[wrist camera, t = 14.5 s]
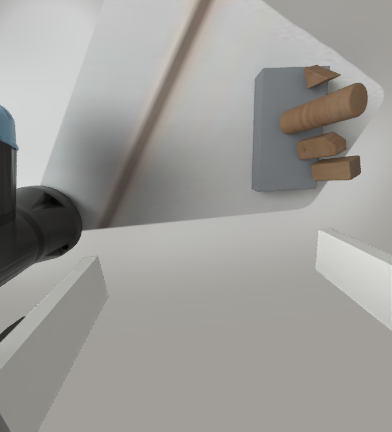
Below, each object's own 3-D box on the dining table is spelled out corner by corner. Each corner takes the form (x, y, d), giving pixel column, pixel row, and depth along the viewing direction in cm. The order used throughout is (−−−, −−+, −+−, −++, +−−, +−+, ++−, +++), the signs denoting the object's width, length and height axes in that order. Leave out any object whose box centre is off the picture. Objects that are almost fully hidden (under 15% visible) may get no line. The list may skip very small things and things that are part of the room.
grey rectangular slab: (251, 188, 40) (258, 191, 37) (255, 78, 35) (263, 68, 31) (303, 186, 41) (315, 188, 37) (314, 76, 35) (329, 66, 32)
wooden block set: (320, 172, 38) (388, 168, 29) (290, 188, 36) (356, 190, 26) (306, 70, 33) (384, 27, 24) (270, 80, 30) (343, 35, 21)
